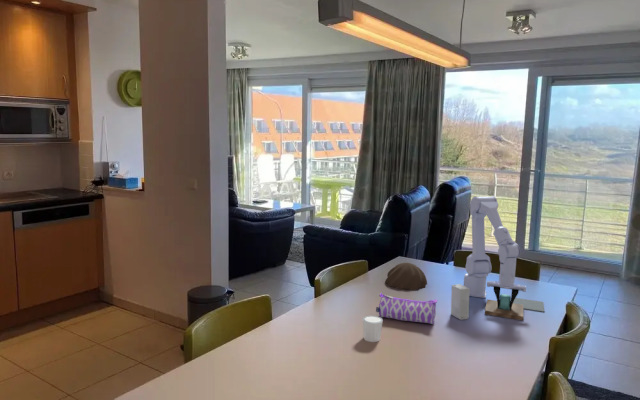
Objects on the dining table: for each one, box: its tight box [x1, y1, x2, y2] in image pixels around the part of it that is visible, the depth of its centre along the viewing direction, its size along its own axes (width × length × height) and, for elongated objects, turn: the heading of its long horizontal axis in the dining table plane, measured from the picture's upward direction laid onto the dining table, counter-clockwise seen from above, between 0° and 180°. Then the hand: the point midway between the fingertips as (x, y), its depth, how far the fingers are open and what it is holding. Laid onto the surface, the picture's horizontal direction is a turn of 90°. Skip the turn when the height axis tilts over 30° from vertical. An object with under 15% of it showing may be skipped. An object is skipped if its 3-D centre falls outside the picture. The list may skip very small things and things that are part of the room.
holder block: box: [484, 299, 524, 321], centre depth 190 cm, size 14×14×2 cm
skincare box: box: [450, 283, 470, 321], centre depth 182 cm, size 6×4×12 cm
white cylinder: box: [362, 315, 384, 343], centre depth 161 cm, size 7×7×7 cm
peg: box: [498, 293, 511, 311], centre depth 189 cm, size 4×4×6 cm
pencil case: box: [375, 292, 438, 325], centre depth 179 cm, size 22×9×10 cm, turn 72°
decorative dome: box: [384, 262, 428, 291], centre depth 222 cm, size 19×20×10 cm
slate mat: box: [513, 297, 546, 313], centre depth 197 cm, size 12×12×1 cm
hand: (504, 305), depth 190 cm, fingers closed on peg, 4 cm apart
